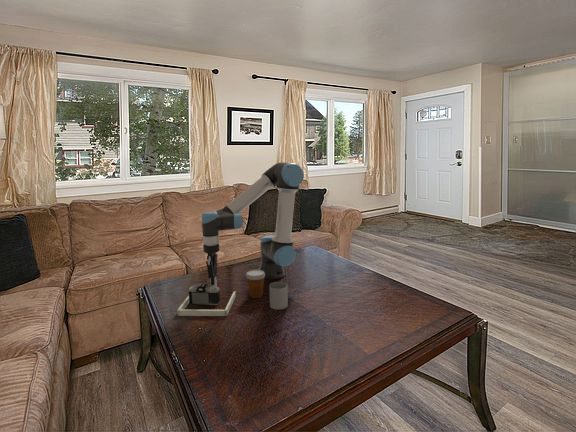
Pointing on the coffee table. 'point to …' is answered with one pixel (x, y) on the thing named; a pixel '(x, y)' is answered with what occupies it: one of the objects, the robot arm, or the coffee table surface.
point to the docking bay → (190, 312)
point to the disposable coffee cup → (255, 283)
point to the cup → (278, 295)
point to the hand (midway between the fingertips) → (213, 289)
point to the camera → (204, 294)
